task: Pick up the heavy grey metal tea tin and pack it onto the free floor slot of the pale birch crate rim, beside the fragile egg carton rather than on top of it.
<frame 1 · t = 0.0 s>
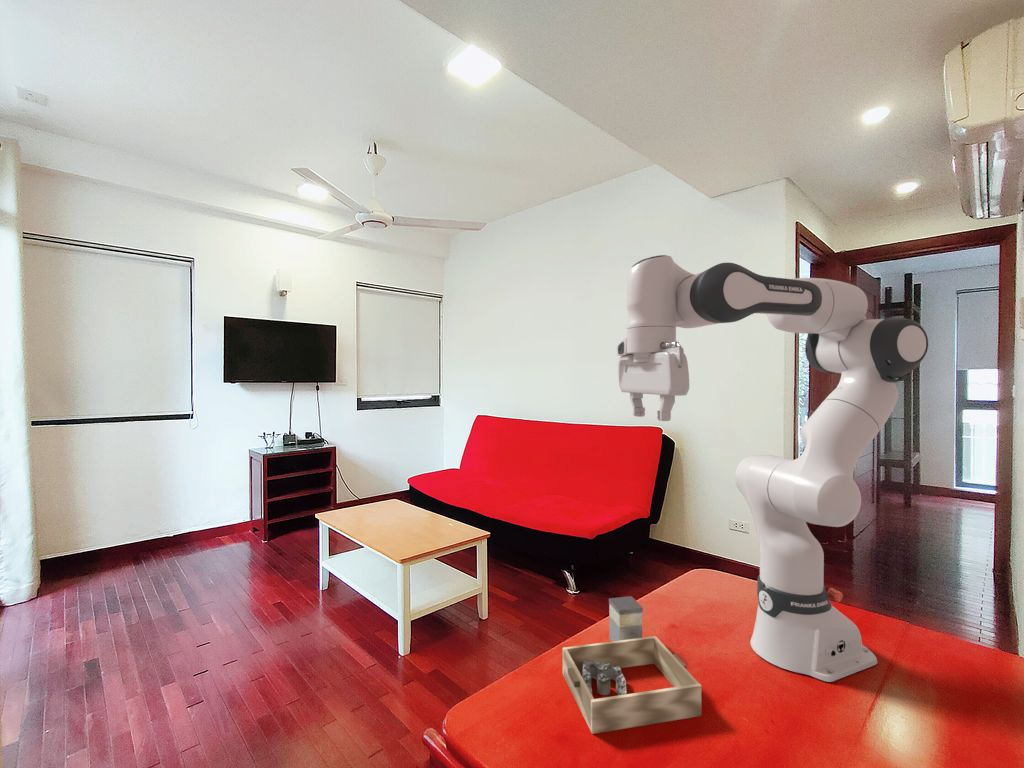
hand: (650, 418, 87), 48 cm above the table, fingers open, 8 cm apart
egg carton: (603, 699, 81), on the table
tin: (625, 643, 98), on the table
tote: (627, 693, 82), on the table
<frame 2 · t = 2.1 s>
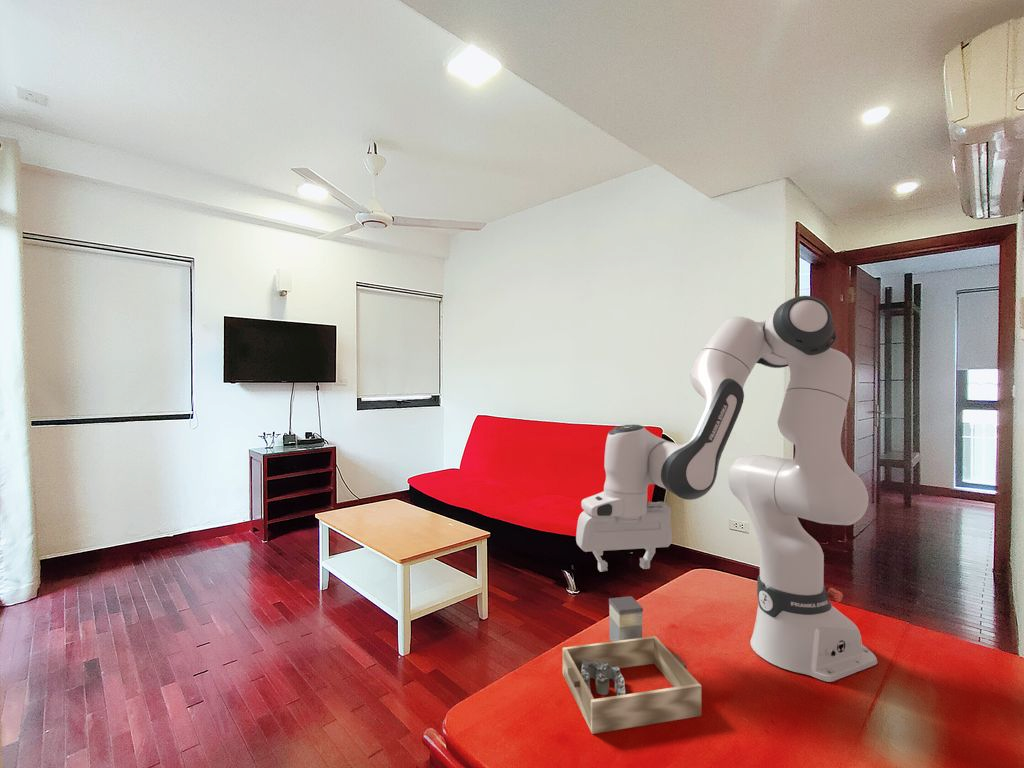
hand: (623, 569, 97), 16 cm above the table, fingers open, 8 cm apart
nothing on the table moved.
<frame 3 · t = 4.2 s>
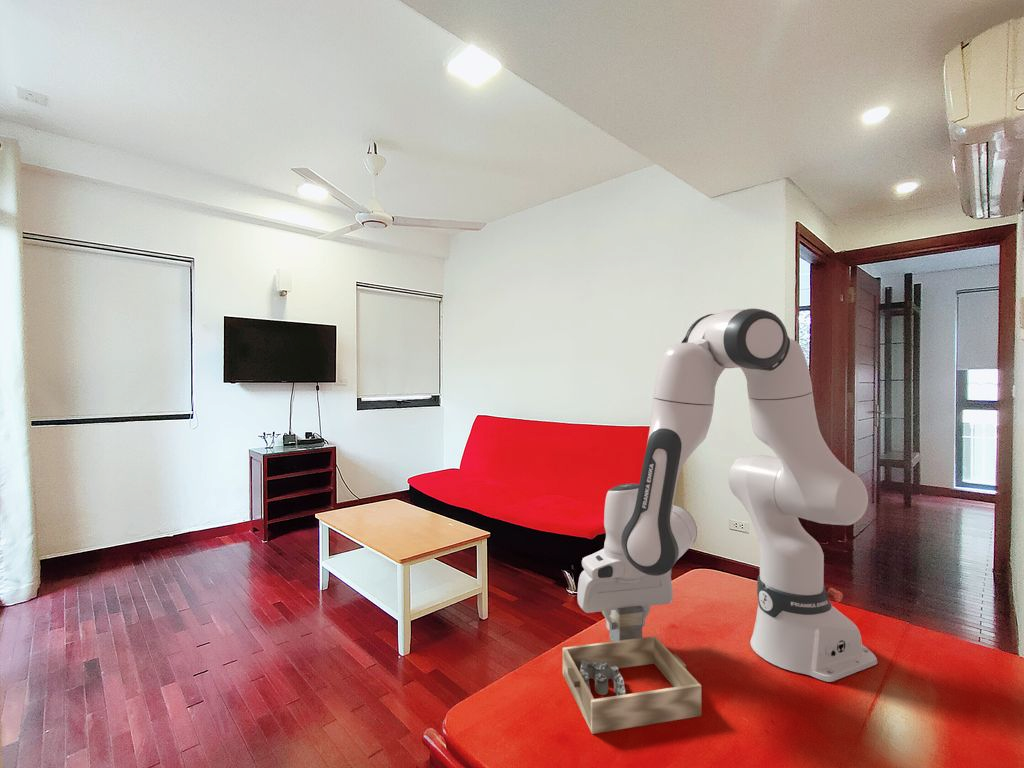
hand: (625, 627, 97), 3 cm above the table, fingers closed on tin, 5 cm apart
tin: (625, 643, 98), on the table, touching gripper
everything else where it was.
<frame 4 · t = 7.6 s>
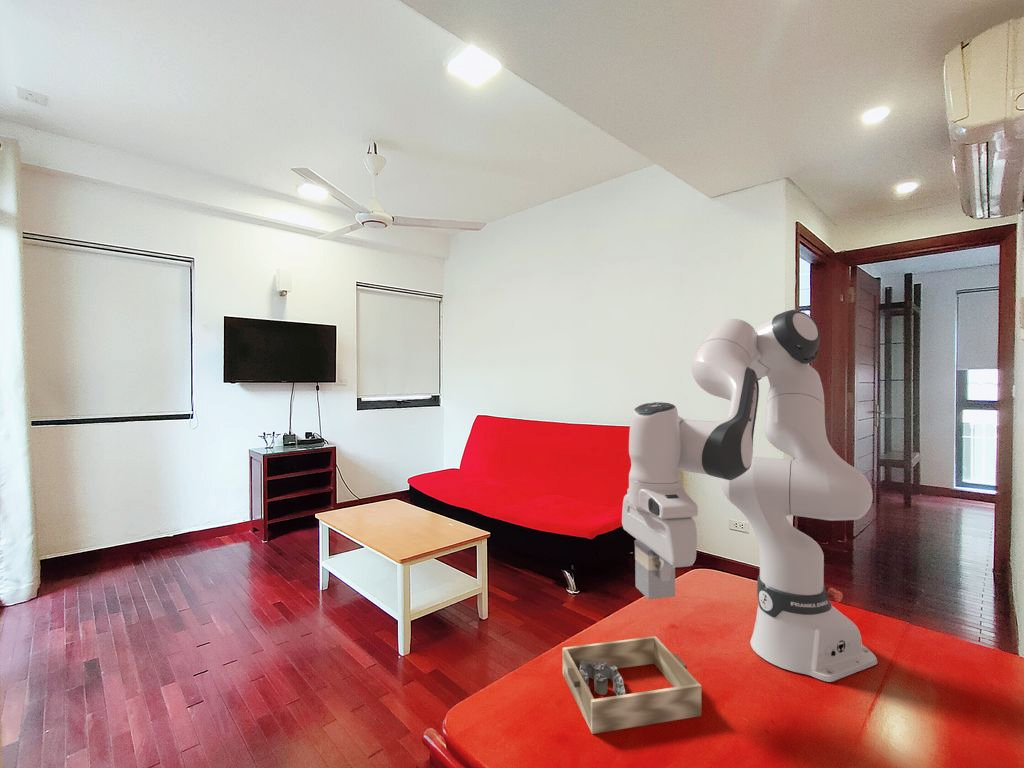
hand: (654, 571, 83), 21 cm above the table, fingers closed on tin, 5 cm apart
tin: (654, 591, 83), point 18 cm above the table, touching gripper
everything else where it was.
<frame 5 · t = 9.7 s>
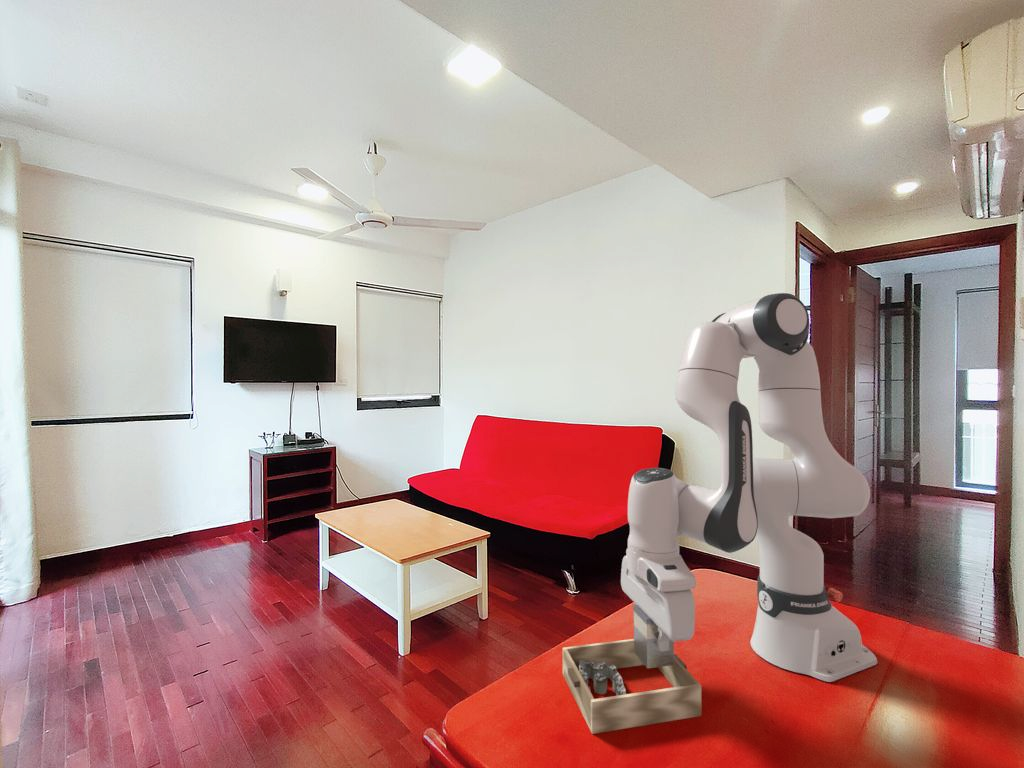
hand: (653, 638, 83), 9 cm above the table, fingers closed on tin, 5 cm apart
tin: (653, 658, 83), point 6 cm above the table, touching gripper
everything else where it was.
when the fingers open (6 cm above the table, at t = 11.3 s): tin drops 2 cm, on the table.
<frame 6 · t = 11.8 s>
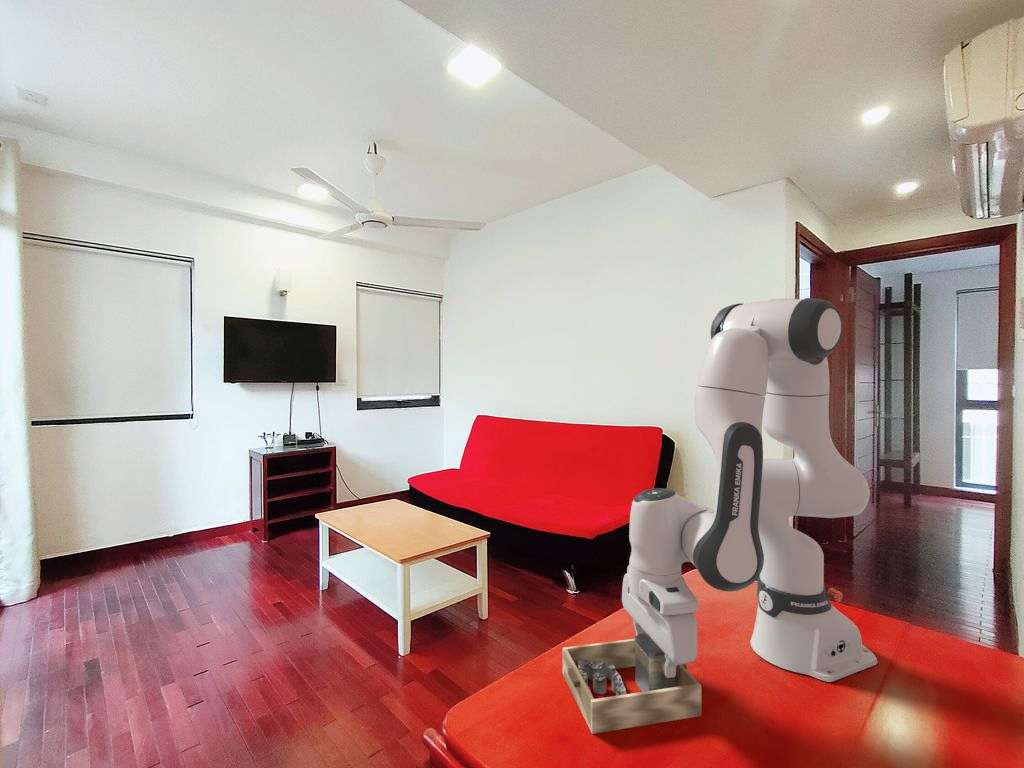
hand: (654, 658, 83), 6 cm above the table, fingers open, 8 cm apart
tin: (654, 689, 83), on the table
everything else where it was.
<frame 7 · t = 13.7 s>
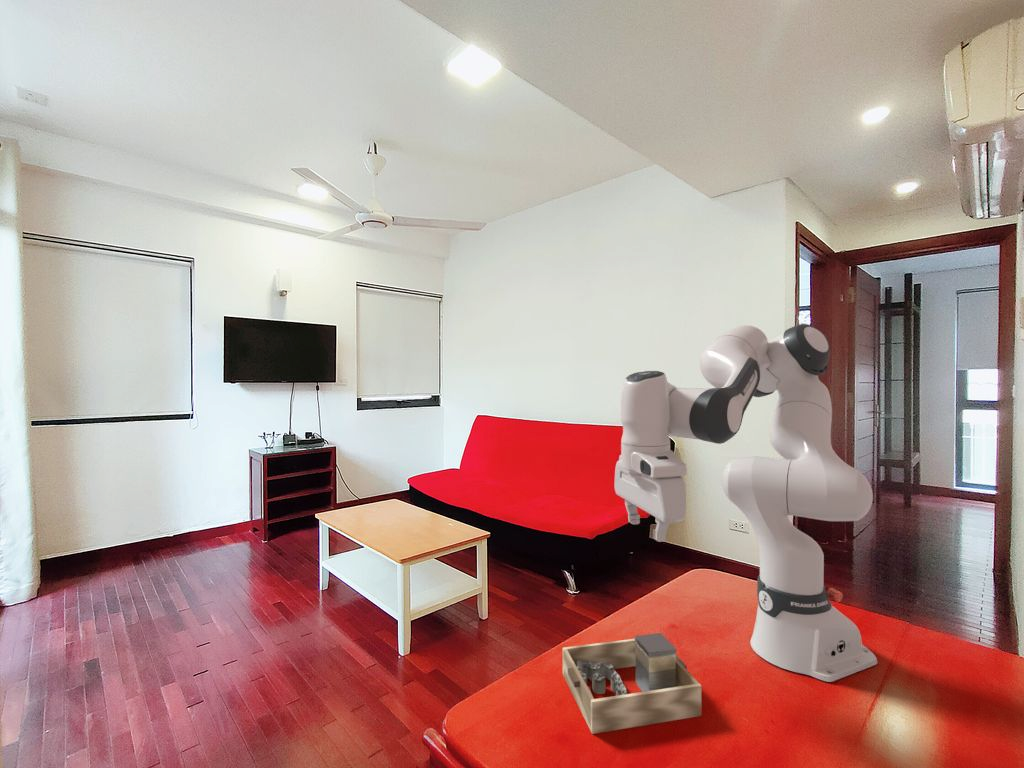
hand: (646, 531, 87), 27 cm above the table, fingers open, 8 cm apart
nothing on the table moved.
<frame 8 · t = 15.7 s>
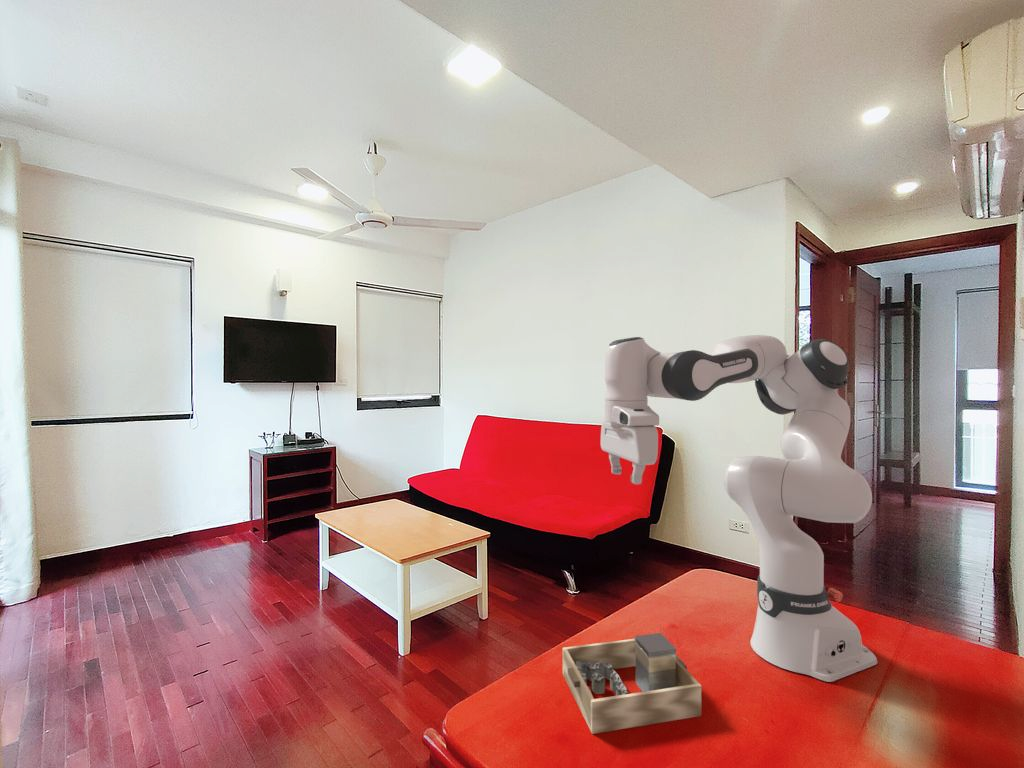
hand: (625, 478, 99), 34 cm above the table, fingers open, 8 cm apart
nothing on the table moved.
at the end: tin inside the target area on the tote (0.3 cm from its centre), point 0.0 cm above the tote's base; tin tilted 0°; tin touching table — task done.
